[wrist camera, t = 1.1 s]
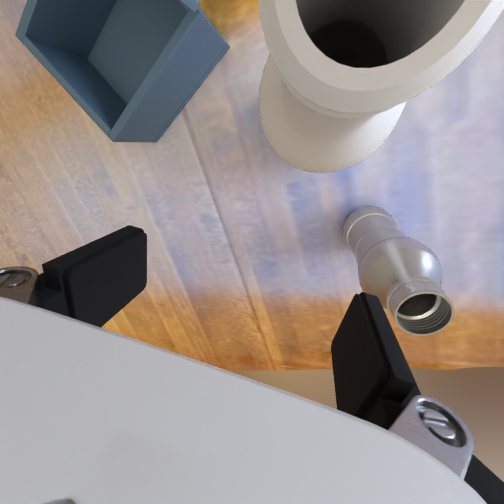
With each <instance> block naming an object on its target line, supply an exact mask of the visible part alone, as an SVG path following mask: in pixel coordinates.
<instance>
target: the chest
mask: <svg viewBox="0 0 504 504" xmlns="http://www.w3.org/2000/svg"><path fill="white" fill-rule="evenodd" d="M15 35H16V36H17V38H18V39H19V40H20V41H21V42H22V43H23V44H24V45H25V46H26V47H27V48H28V50H29V51H30V52H31V53H32V54H33V55H34V56H35V57H36V58H37V59H38V60H39V62H40V63H41V64H42V65H43V66H44V67H45V68H46V69H47V70H48V71H49V73H50V74H51V75H52V76H53V77H54V78H55V79H56V80H57V81H58V82H59V83H60V85H61V86H62V87H63V88H64V89H65V90H66V91H67V92H68V93H69V94H70V95H71V97H72V98H73V99H74V100H75V101H76V102H77V103H78V104H79V105H80V106H81V108H82V109H83V110H84V111H85V112H86V113H87V114H88V115H89V116H90V117H91V118H92V120H93V121H94V122H95V123H96V124H97V125H98V126H99V127H100V128H101V129H102V130H103V132H104V133H105V134H106V135H107V136H108V137H109V138H110V139H111V140H112V141H113V142H157V141H158V140H159V138H160V137H161V136H162V134H163V133H164V132H165V131H166V129H167V128H168V127H169V125H170V124H171V123H172V121H173V120H174V119H175V118H176V116H177V115H178V114H179V112H180V111H181V110H182V109H183V107H184V106H185V105H186V103H187V102H188V101H189V99H190V98H191V97H192V96H193V94H194V93H195V92H196V90H197V89H198V88H199V86H200V85H201V84H202V83H203V81H204V80H205V79H206V77H207V76H208V75H209V74H210V72H211V71H212V70H213V68H214V67H215V66H216V64H217V63H218V62H219V61H220V59H221V58H222V57H223V55H224V54H225V53H226V52H227V50H228V49H229V48H230V47H229V45H228V44H227V43H226V41H225V40H224V39H223V37H222V36H221V35H220V33H219V32H218V31H217V29H216V28H215V27H214V25H213V24H212V23H211V21H210V20H209V19H208V17H207V16H206V15H205V13H204V12H203V11H202V9H201V8H200V7H198V9H197V11H196V12H193V11H192V10H191V9H190V8H188V7H187V6H186V5H185V4H184V3H182V2H181V1H180V0H27V3H26V6H25V8H24V11H23V14H22V17H21V20H20V23H19V26H18V29H17V31H16V34H15Z"/></svg>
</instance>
